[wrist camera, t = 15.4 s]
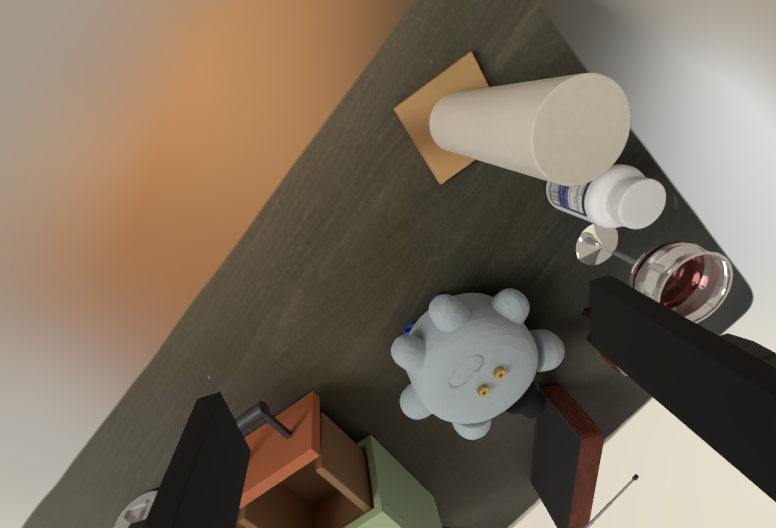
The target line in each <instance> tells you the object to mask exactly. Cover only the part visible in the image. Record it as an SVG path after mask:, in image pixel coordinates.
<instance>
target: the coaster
mask: <svg viewBox="0 0 776 528" xmlns="http://www.w3.org/2000/svg"><path fill="white" fill-rule="evenodd" d="M488 87H489V86H488V84H487V82H486V80H485V78H484V76H483V74H482V72H481V70H480V68H479V66H478V64H477V61H476V59H475V57H474V55H473V53H472V52H469V53H467V54H466V55H465V56H463V57H462V58H461V59H459V60H458V61H456V62H455V63H454V64H452V65H451V66H450V67H448V68H447V69H446V70H444V71H443V72H442V73H440V74H439V75H438V76H436V77H435V78H434V79H432V80H431V81H430V82H428V83H427V84H426V85H424V86H423V87H421V88H420V89H419V90H417V91H416V92H415V93H413V94H412V95H411V96H409V97H408V98H407V99H405V100H404V101H403V102H401V103H400V104H399V105H397V106H396V107H395V108H393V110H394V111H395V113H396V115H397V116H398V118H399V119H400V121H401V123H402V124H403V126H404V128H405V129H406V131H407V132H408V134H409V136H410V137H411V139H412V140H413V142H414V144H415V145H416V147H417V149H418V150H419V152H420V153H421V155H422V157H423V158H424V160H425V161H426V163H427V165H428V166H429V168H430V170H431V171H432V173H433V174H434V176H435V178H436V179H437V181H438V182H439V184H442V183H444V182H445V181H446V180H448V179H449V178H451V177H452V176H453V175H455V174H456V173H458V172H459V171H460V170H462V169H463V168H465V167H466V166H467V165H469V164H470V163H472V162H473V161H474V160H476V159H473V158H469V157H466V156H463V155H459V154H456V153H453V152H449V151H446V150H444V149H442V148H441V147H439V146H438V145H437V144H436V143H435V141H434V140H433V138H432V136H431V133H430V127H429V121H430V115H431V112H432V110H433V108H434V106H435V105H436V103H437V102H438V101H439V100H440V99H441V98H442V97H444V96H446V95H448V94H450V93H454V92H461V91H467V90H474V89H481V88H488Z"/></svg>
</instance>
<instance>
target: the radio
mask: <svg viewBox="0 0 776 528" xmlns="http://www.w3.org/2000/svg"><path fill="white" fill-rule="evenodd" d="M539 391H540V392H541V393H542V394H543V395H544V397H545V399H546V408H545V411H544V412H543V413H542V415H540V416H539V417H537V418H536V425H535V436H534V447H533V458H532V469H531V483H532V485H533V486H534V488H535V490H536V492H537V493H538V495H539V497H540V499H541V500H542V502H543V504H544V506H545V507H546V509H547V511H548V513H549V514H550V516H551V518H552V520H553V521H554V523H555V525H556V526H557V528H589V527H590V526H591V525H592V524H593V522H594V521H595V520H596V519H597V518H598V517H599V516H600V515H601V514H602V513H603V512H604V511H605V510H606V509H607V508H608V507H609V506H610V505H611V504H612V502H613V501H614V500H615V499H616V498H617V497H618V496H619V495H620V494H621V493H622V492H623V491H624V490H625V489H626V488H627V487H628V486H629V485H630V484H631V483H632V482H633V481H634V480H637V478H638V475H636V474H635V475H634V476H633V479H632V480H631V481H630V482H629V483H628V484H627V485H626V486H625V487H624V488H623V489H622V490H621V491H620V492H619V493H618V494H617V495H616V496H615V497H614V498H613V499H612V500H611V501H610V502H609V503H608V504H607V505H606V506H605V507H604V508H603V509H602V510H601V511H600V512H599V513H598V514H597V515H596V517H594V518H593V519H592V520H591V521H590V522H589V520H590V515H591V509H592V504H593V498H594V492H595V486H596V481H597V476H598V470H599V464H600V459H601V453H602V448H603V442H604V434H603V432H602V431H601V430H600V428H599V427H598V426H597V425H596V424H595V423H594V422H593V421H592V419H591V418H590V417H589V416H588V415H587V414H586V413H585V412H584V410H583V409H582V408H581V407H580V406H579V405H578V404H577V403H576V401H575V400H574V399H573V398H572V397H571V396H570V395H569V394H568V392H567V391H566V390H565V389H564V388H563V387H562V386H561V385H560V384H557V385H551V386H546V387H540V388H539Z"/></svg>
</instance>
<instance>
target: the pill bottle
mask: <svg viewBox="0 0 776 528" xmlns="http://www.w3.org/2000/svg"><path fill="white" fill-rule="evenodd" d="M546 194H547V198H548V200H549V202H550V203H551V204H552V205H553V206H554V207H555V208H557V209H559V210H561V211H563V212H565V213H568V214H570V215H573V216H575V217H578V218H581V219H583V220H586V221H588V222H591V223H593V224H595V225H598V226H601V227H605V228H617V227H621V226H625V227H628V228H631V229H641V228H644V227H647V226H648V225H650V224H651V223H653V222H654V221H655V220H656V219H657V218H658V217H659V215H660V214H661V212H662V211H663V208H664V206H665V202H666V193H665V189H664V187H663V186H662V184H661V183H660V182H658V181H656V180H654V179H650V178H645V176H644V175H643V174H642V173H641V172H640V171H639V170H638V169H636V168H634V167H632V166H628V165H624V164H618V163H614V164H613V165H612V166H611V168H609V169H608V170H607V171H606V172H605V173H604V174H603V175H601V176H600V177H598V178H597V179H595V180H593V181H591V182H589V183H586V184H583V185H578V186H563V185H559V184H556V183H552V182H549V181H547V185H546Z"/></svg>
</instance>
